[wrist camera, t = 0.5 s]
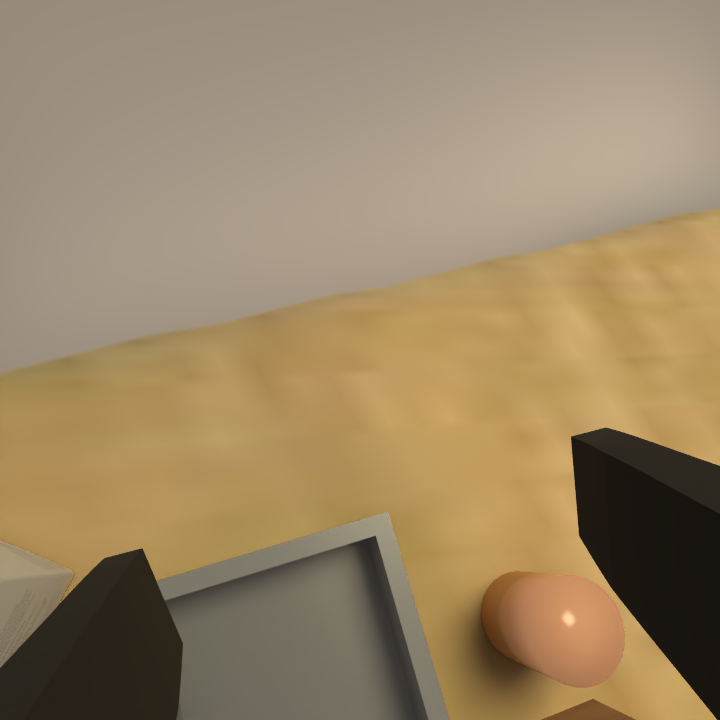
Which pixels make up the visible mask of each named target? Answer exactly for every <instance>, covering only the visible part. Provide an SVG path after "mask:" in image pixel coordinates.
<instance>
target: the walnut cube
mask: <svg viewBox="0 0 720 720" xmlns="http://www.w3.org/2000/svg"><path fill="white" fill-rule="evenodd" d="M542 720H635V719H633V718H631V717H629V716H627V715H625V714H623V713H621V712H619V711H617V710H615V709H612V708H610V707H608V706H606V705H604V704H602V703H600V702H598V701H596V700H594V699H592V700H589V701H587V702H584V703H582V704H579V705H577V706H575V707H572V708H570V709H567V710H565V711H562V712H560V713H557V714H555V715H552V716H550V717H547V718H545V719H542Z"/></svg>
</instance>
